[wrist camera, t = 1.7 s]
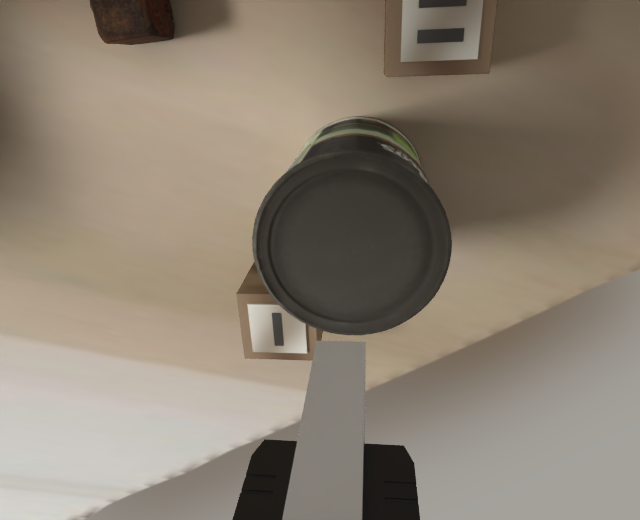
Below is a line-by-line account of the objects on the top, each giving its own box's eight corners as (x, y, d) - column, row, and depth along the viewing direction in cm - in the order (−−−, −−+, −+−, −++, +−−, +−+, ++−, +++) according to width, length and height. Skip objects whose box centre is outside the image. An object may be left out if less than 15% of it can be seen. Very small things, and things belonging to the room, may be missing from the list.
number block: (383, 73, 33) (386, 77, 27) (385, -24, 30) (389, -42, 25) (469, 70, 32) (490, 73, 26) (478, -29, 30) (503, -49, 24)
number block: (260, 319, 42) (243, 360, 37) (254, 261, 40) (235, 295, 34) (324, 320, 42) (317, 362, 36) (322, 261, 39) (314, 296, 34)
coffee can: (382, 87, 33) (390, 108, 20) (444, 204, 36) (486, 286, 23) (267, 160, 36) (212, 218, 23) (334, 262, 39) (318, 363, 26)
